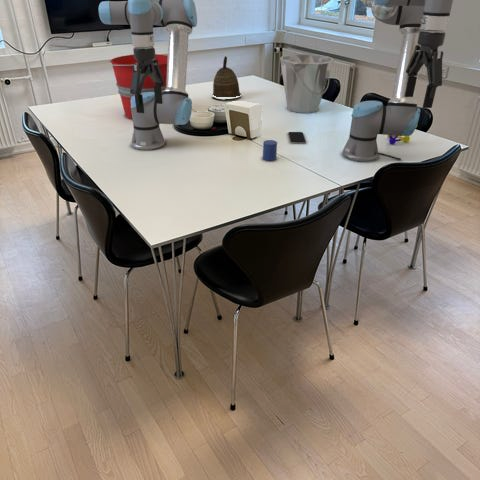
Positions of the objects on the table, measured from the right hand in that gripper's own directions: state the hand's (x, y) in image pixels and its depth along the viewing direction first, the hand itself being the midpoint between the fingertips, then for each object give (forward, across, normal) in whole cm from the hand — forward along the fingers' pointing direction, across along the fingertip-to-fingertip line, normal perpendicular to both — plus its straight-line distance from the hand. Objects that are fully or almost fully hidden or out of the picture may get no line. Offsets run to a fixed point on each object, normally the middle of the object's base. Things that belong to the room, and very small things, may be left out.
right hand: (417, 102), depth 145 cm
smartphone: (+34, -65, -24) cm, 77 cm away
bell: (+34, -146, -52) cm, 158 cm away
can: (+34, -40, -41) cm, 67 cm away
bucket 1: (+34, -113, -99) cm, 154 cm away
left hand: (+8, -30, -90) cm, 95 cm away
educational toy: (+34, -54, +22) cm, 67 cm away
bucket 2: (+34, -116, -9) cm, 121 cm away
